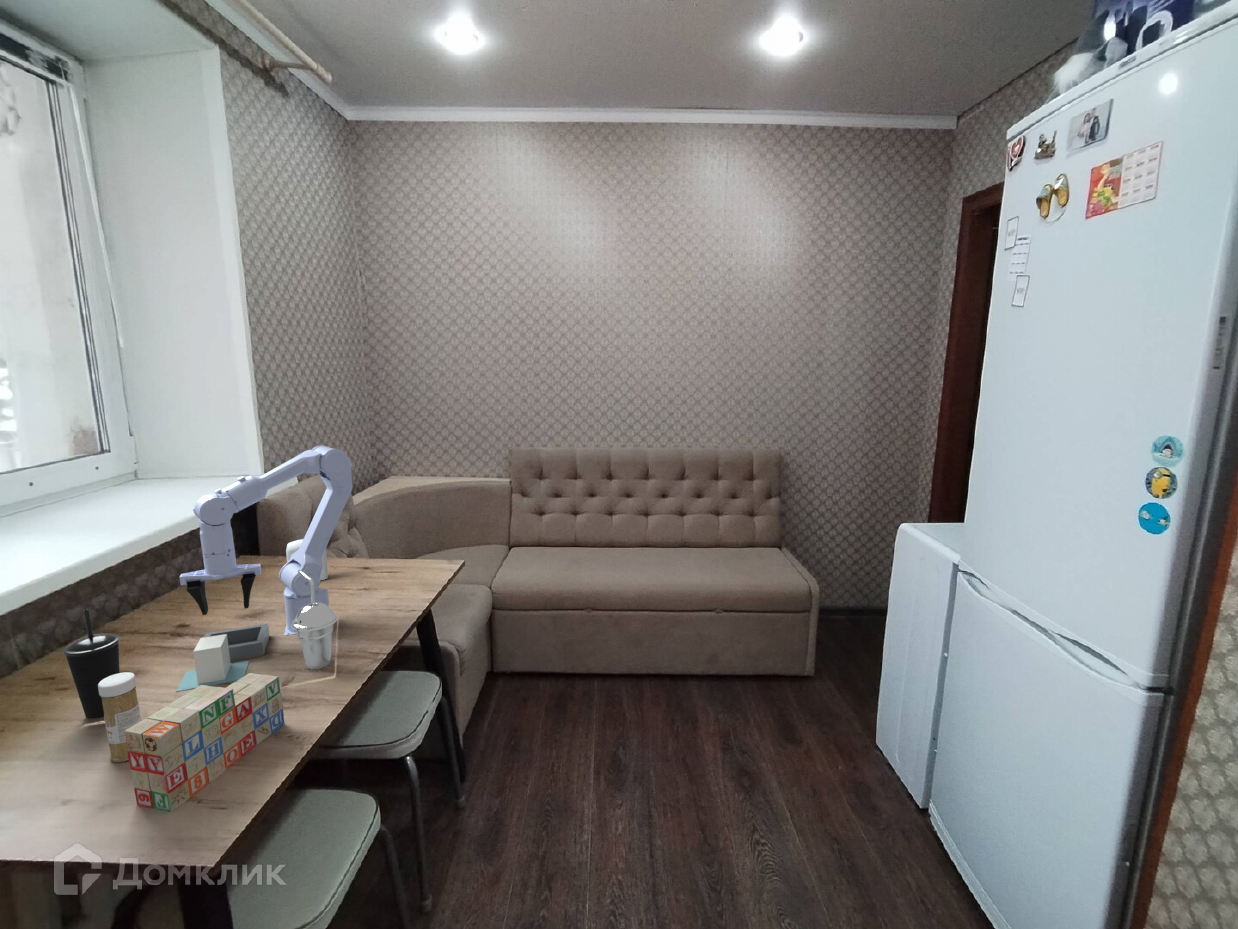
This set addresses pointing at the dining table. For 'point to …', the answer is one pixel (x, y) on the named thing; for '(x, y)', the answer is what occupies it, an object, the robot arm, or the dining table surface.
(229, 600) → the dining table surface
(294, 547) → the photo printer
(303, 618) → the cup with straw
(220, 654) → the block
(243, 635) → the case
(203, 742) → the stack of blocks
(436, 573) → the dining table surface
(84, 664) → the drinking cup
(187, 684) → the mat
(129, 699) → the sprinkles bottle
